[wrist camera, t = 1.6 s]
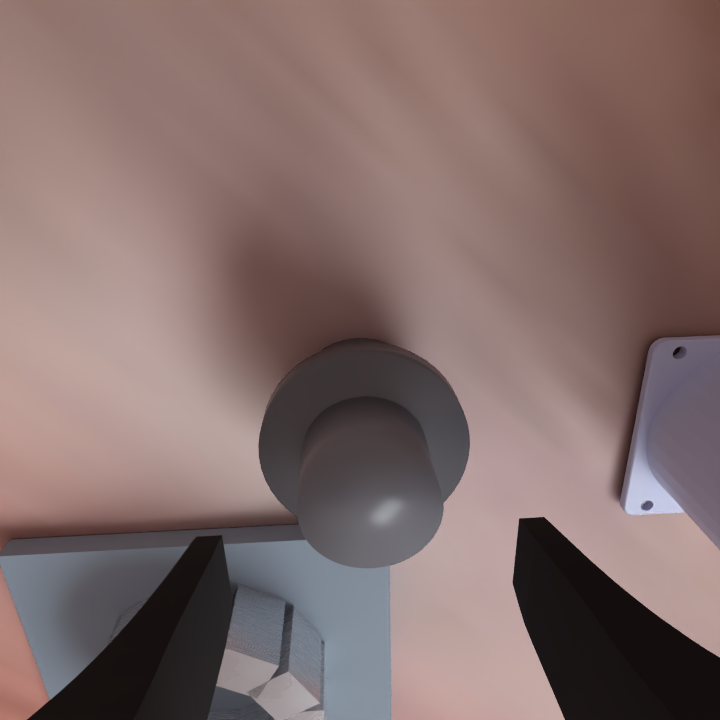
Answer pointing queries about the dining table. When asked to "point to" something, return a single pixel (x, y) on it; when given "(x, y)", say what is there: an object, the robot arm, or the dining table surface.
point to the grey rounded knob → (364, 450)
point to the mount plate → (245, 566)
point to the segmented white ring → (266, 659)
